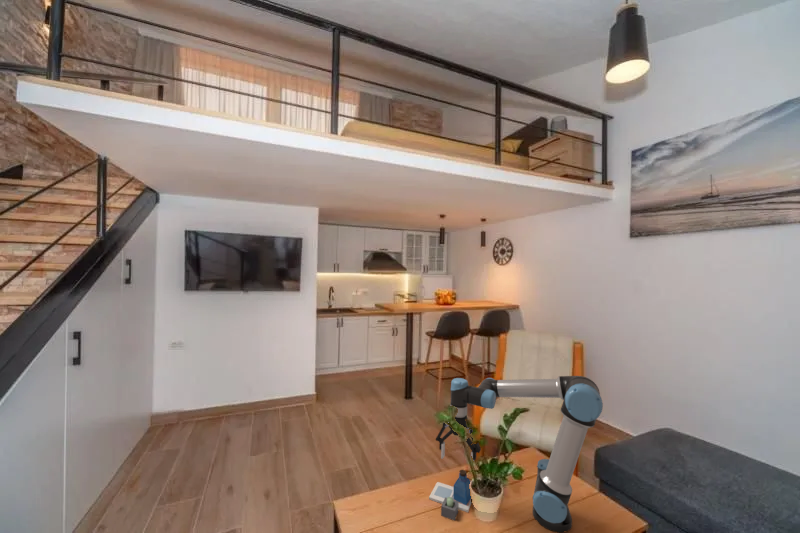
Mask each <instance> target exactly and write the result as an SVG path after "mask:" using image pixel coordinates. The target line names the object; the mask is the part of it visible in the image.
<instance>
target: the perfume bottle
mask: <svg viewBox="0 0 800 533" xmlns="http://www.w3.org/2000/svg"><path fill="white" fill-rule="evenodd" d="M467 476H468V474H467V471H466V469H460V470H459V473H458V477H457V478H456V480H455V482H454V484H453V487H454V492H453V499H454V500H456V501H458V502H460V503H462V504H464V505H467V503H468V502H469V501H470V499H471V496H470V489H469V484H470V482H471V480H470V478H468V477H467Z"/></svg>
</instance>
